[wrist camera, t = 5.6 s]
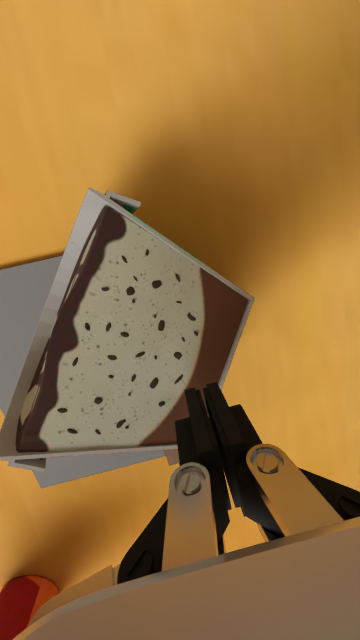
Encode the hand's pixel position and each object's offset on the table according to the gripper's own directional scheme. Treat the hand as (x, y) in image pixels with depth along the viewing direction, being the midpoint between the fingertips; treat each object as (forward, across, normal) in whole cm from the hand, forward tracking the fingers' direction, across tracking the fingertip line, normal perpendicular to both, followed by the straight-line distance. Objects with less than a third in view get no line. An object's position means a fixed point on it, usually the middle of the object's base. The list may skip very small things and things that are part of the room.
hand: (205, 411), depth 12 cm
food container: (+5, -1, 0) cm, 5 cm away
